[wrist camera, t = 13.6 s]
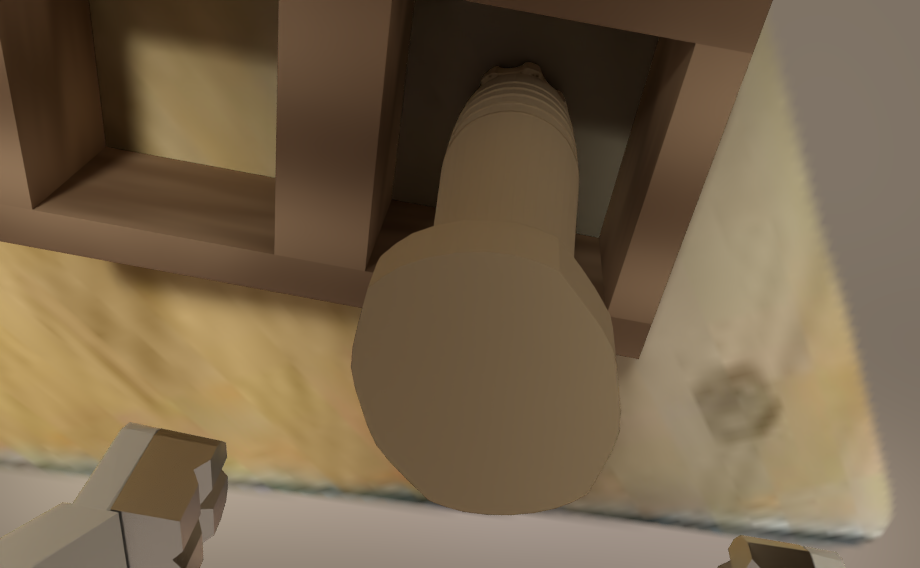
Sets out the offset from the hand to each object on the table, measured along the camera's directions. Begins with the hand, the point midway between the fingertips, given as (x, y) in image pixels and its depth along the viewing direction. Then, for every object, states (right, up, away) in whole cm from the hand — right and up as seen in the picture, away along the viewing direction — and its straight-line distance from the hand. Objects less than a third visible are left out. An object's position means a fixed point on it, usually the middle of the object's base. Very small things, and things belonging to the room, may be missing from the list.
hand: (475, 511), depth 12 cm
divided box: (-4, +11, +14) cm, 18 cm away
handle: (+2, +10, +15) cm, 18 cm away
